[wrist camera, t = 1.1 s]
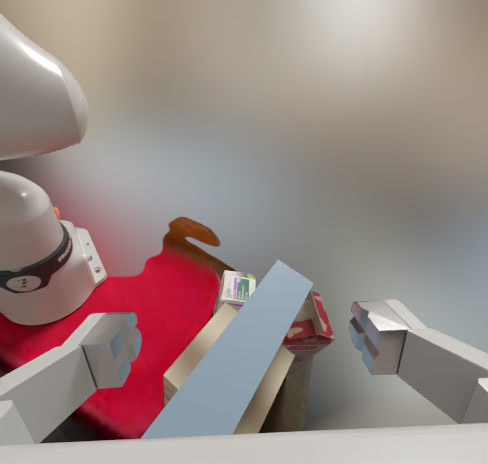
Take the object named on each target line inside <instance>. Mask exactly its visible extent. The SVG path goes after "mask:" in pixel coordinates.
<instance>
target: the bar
mask: <svg viewBox="0 0 488 464" xmlns="http://www.w3.org/2000/svg"><path fill="white" fill-rule="evenodd" d="M312 286H313V282H311V281H309V280H308V279H306V278H305V277H303V276H302V275H300V274H299V273H297V272H296V271H294V270H293V269H291V268H290V267H288V266H287V265H285V264H284V263H282V262H281V261H279V260H278V261H277V262H276V263H275V264H274V266H273V267H272V268H271V270H270V271H269V272H268V274H267V275H266V276H265V277H264V279H263V280H262V281H261V283H260V284H259V286H258V287H257V288H256V289H255V290H254V292H253V293H252V294H251V296H250V297H249V298H248V300H247V301H246V302H245V303H244V305H243V306H242V307H241V309H240V310H239V311H238V313H237V314H236V315H235V316H234V318H233V319H232V320H231V322H230V323H229V324H228V326H227V327H226V328H225V330H224V331H223V332H222V333H221V335H220V336H219V337H218V339H217V340H216V341H215V343H214V344H213V345H212V346H211V348H210V349H209V350H208V352H207V353H206V354H205V356H204V357H203V358H202V359H201V361H200V362H199V363H198V365H197V366H196V367H195V369H194V370H193V371H192V372H191V374H190V375H189V376H188V378H187V379H186V380H185V382H184V383H183V384H182V385H181V387H180V388H179V389H178V391H177V392H176V393H175V395H174V396H173V397H172V398H171V400H170V401H169V402H168V404H167V405H166V406H165V408H164V409H163V410H162V411H161V413H160V414H159V415H158V417H157V418H156V419H155V421H154V422H153V423H152V425H151V426H150V427H149V428H148V430H147V431H146V432H145V434H144V435H143V436H142V438H141V439H150V438H171V437H193V436H214V435H232V434H233V432H234V430H235V428H236V426H237V425H238V423H239V421H240V419H241V417H242V415H243V413H244V412H245V410H246V408H247V406H248V404H249V402H250V401H251V399H252V397H253V395H254V393H255V391H256V389H257V388H258V386H259V384H260V382H261V380H262V378H263V376H264V375H265V373H266V371H267V369H268V367H269V365H270V363H271V362H272V360H273V358H274V356H275V354H276V352H277V350H278V349H279V347H280V345H281V343H282V341H283V339H284V337H285V336H286V334H287V332H288V330H289V328H290V326H291V324H292V323H293V321H294V319H295V317H296V315H297V313H298V311H299V310H300V308H301V306H302V304H303V302H304V300H305V298H306V297H307V295H308V293H309V291H310V289H311V287H312Z"/></svg>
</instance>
